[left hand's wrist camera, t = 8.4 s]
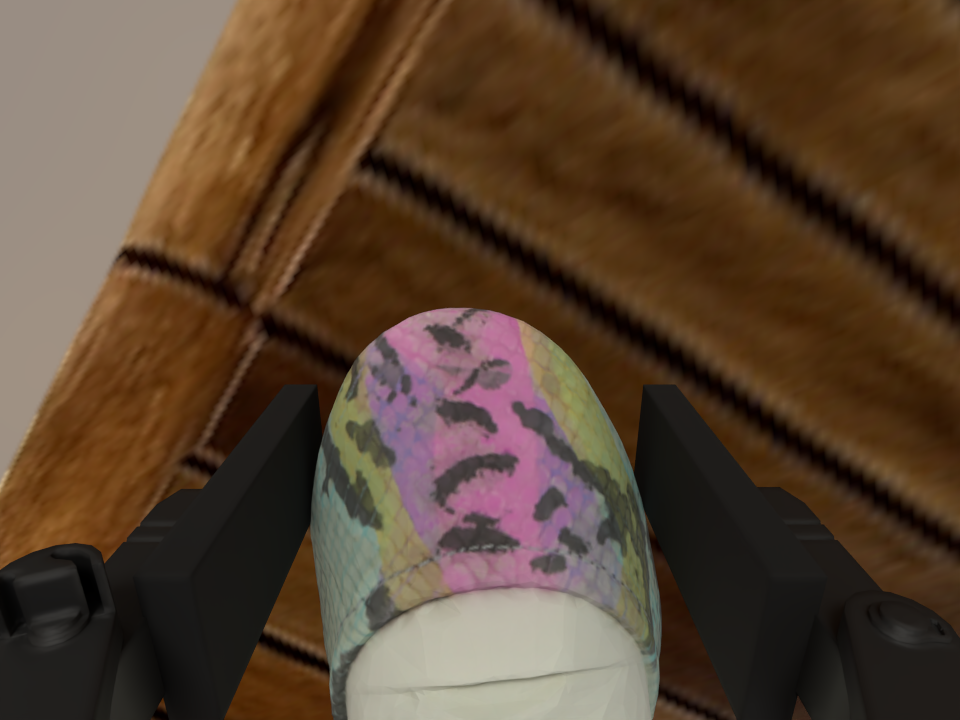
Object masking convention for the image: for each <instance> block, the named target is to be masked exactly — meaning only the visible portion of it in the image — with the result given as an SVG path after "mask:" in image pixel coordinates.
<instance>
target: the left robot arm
mask: <svg viewBox="0 0 960 720" xmlns="http://www.w3.org/2000/svg"><path fill="white" fill-rule="evenodd" d="M322 439H323V437H322V428H321V418H320V409H319V399H318V390H317V385H284V387H283V388H282V389H281V390H280V392H279V393H278V394H277V395H276V397H275V398H274V399H273V400H272V402H271V403H270V404H269V406H268V407H267V408H266V409H265V411H264V412H263V413H262V414H261V416H260V417H259V418H258V419H257V421H256V422H255V423H254V424H253V426H252V427H251V428H250V430H249V431H248V432H247V433H246V435H245V436H244V437H243V438H242V440H241V441H240V442H239V443H238V445H237V446H236V447H235V448H234V450H233V451H232V452H231V454H230V455H229V456H228V457H227V459H226V460H225V461H224V462H223V464H222V465H221V466H220V467H219V469H218V470H217V471H216V472H215V474H214V475H213V476H212V477H211V479H210V480H209V481H208V483H207V484H206V485H205V486H204V488H203V489H181V490H179V491H177V492H176V493H174V494H173V495H171V496H170V497H168V498H166V499H165V500H163V501H162V502H160V503H159V504H157V505H156V506H155V507H154V508H153V509H152V510H151V512H150V513H149V514H148V515H147V516H146V517H145V518H144V520H143V521H142V522H141V523H140V524H141V525H140V527H136V529H135V530H134V531H133V532H132V533H131V534H130V535H129V537H128V538H127V542H123V543H122V544H121V546H120V547H119V548H118V549H117V550H116V551H115V552H114V554H113V555H112V556H111V557H110V558H109V559H108V560H107V561H106V563H105V564H104V561H103V557H102V554H101V552H100V551H99V550H97V549H96V548H95V547H93V546H92V545H85V544H78V543H73V544H64V545H55V546H52V547H49V548H45V549H42V550H38V551H35V552H32V553H30V554H28V555H26V556H24V557H22V558H19V559H17V560H15V561H13V562H11V563H9V564H8V565H7V566H5V567H4V568H2V569H1V570H0V720H150V719H151V718H152V716H153V714H154V712H155V710H156V709H157V707H158V705H159V703H160V702H161V700H162V698H164V702H165V706H166V710H167V714H168V718H169V720H223V719H224V717H225V715H226V713H227V710H228V708H229V706H230V704H231V701H232V699H233V697H234V695H235V692H236V690H237V688H238V685H239V683H240V681H241V679H242V676H243V674H244V672H245V670H246V667H247V665H248V663H249V661H250V658H251V656H252V654H253V651H254V649H255V647H256V645H257V642H258V640H259V638H260V636H261V633H262V631H263V629H264V627H265V624H266V622H267V620H268V617H269V615H270V613H271V611H272V608H273V606H274V604H275V602H276V599H277V597H278V595H279V593H280V590H281V588H282V586H283V584H284V581H285V579H286V577H287V574H288V572H289V570H290V568H291V565H292V563H293V561H294V559H295V556H296V554H297V552H298V550H299V547H300V545H301V543H302V540H303V538H304V536H305V534H306V531H307V529H308V527H309V525H310V522H311V502H312V493H313V485H314V477H315V471H316V465H317V459H318V454H319V450H320V446H321V443H322ZM634 477H635V480H636V483H637V486H638V490H639V493H640V496H641V499H642V504H643V508H644V510H645V512H646V515H647V517H648V519H649V521H650V524H651V526H652V528H653V531H654V533H655V535H656V537H657V540H658V542H659V544H660V546H661V549H662V551H663V553H664V555H665V558H666V560H667V562H668V565H669V567H670V569H671V571H672V574H673V576H674V578H675V580H676V583H677V585H678V587H679V589H680V592H681V594H682V596H683V598H684V601H685V603H686V605H687V608H688V610H689V612H690V614H691V617H692V619H693V621H694V623H695V626H696V628H697V630H698V632H699V635H700V637H701V639H702V642H703V644H704V646H705V648H706V651H707V653H708V655H709V657H710V660H711V662H712V664H713V666H714V669H715V671H716V673H717V675H718V678H719V680H720V682H721V685H722V687H723V689H724V691H725V694H726V696H727V698H728V700H729V703H730V705H731V707H732V709H733V712H734V714H735V716H736V719H737V720H792V716H793V712H794V708H795V704H796V700H797V696H799V698H800V700H801V701H802V703H803V705H804V707H805V708H806V710H807V712H808V714H809V715H810V717H811V719H812V720H960V638H959V637H958V635H957V634H956V632H955V631H954V630H953V628H952V627H951V625H950V624H948V623H947V622H946V621H945V620H944V619H942V618H941V617H940V616H939V615H937V614H936V613H935V612H934V611H932V610H930V609H929V608H927V607H925V606H923V605H921V604H919V603H917V602H916V601H914V600H912V599H909V598H906V597H903V596H900V595H897V594H894V593H891V592H884V591H882V590H881V589H880V587H879V586H878V585H877V584H876V583H875V582H874V581H873V580H872V578H871V577H870V576H869V575H868V574H867V573H866V572H865V571H864V569H863V568H862V567H861V566H860V565H859V564H858V563H857V562H856V560H855V559H854V558H853V557H852V556H851V555H850V554H849V553H848V551H847V550H846V549H845V548H844V547H843V546H842V545H841V544H840V542H839V541H838V540H834V536H833V535H832V533H831V532H830V531H829V530H828V529H827V528H826V527H825V526H824V525H821V523H820V520H819V519H818V518H817V517H816V515H815V514H814V513H813V512H812V511H811V510H810V509H809V508H808V506H807V505H806V504H805V503H804V502H802V501H801V500H799V499H797V498H796V497H794V496H793V495H791V494H789V493H788V492H786V491H785V490H783V489H782V488H780V487H756V486H755V485H754V483H753V482H752V481H751V479H750V478H749V477H748V476H747V474H746V473H745V472H744V471H743V469H742V468H741V467H740V466H739V464H738V463H737V462H736V461H735V459H734V458H733V457H732V455H731V454H730V453H729V452H728V450H727V449H726V448H725V447H724V445H723V444H722V443H721V442H720V440H719V439H718V438H717V437H716V435H715V434H714V433H713V432H712V430H711V429H710V428H709V426H708V425H707V424H706V423H705V421H704V420H703V419H702V418H701V416H700V415H699V414H698V413H697V411H696V410H695V409H694V408H693V406H692V405H691V404H690V402H689V401H688V400H687V399H686V397H685V396H684V395H683V394H682V392H681V391H680V390H679V389H678V387H677V386H676V385H643V393H642V403H641V413H640V422H639V432H638V441H637V451H636V460H635V470H634Z"/></svg>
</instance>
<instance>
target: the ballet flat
mask: <svg viewBox="0 0 960 720" xmlns="http://www.w3.org/2000/svg"><path fill="white" fill-rule="evenodd" d="M310 530H311V539H312V545H313V552H314V560H315V569H316V577H317V584H318V590H319V596H320V603H321V616H322V622H323V634H324V644H325V649H326V654H327V660H328V663H329V669H330V684H329V685H330V696H331V704H332V715H333V717H334V720H652V719H653V715H654V711H655V706H656V701H657V696H658V688H659V654H660V645H661V631H662V627H661V604H660V597H659V589H658V583H657V577H656V571H655V566H654V560H653V555H652V550H651V545H650V539H649V533H648V527H647V522H646V518H645V513H644V509H643V504H642V499H641V496H640V493H639V490H638V486H637V483H636V480H635V477H634V473H633V470H632V467H631V464H630V462H629V459H628V457H627V454H626V451H625V449H624V447H623V444H622V442H621V440H620V438H619V436H618V434H617V432H616V430H615V428H614V426H613V424H612V422H611V421H610V419H609V417H608V415H607V413H606V411H605V410H604V408H603V406H602V405H601V403H600V401H599V399H598V398H597V396H596V394H595V393H594V391H593V389H592V388H591V386H590V384H589V383H588V381H587V379H586V378H585V377H584V375H583V374H582V372H581V371H580V370H579V369H578V367H577V366H576V365H575V363H574V362H573V361H572V360H571V358H570V357H569V356H568V355H567V354H566V353H565V352H564V351H563V350H562V349H561V348H560V347H559V346H558V345H556V344H555V343H554V342H553V341H552V340H550V339H549V338H548V337H547V336H545V335H544V334H543V333H541V332H540V331H538V330H537V329H535V328H533V327H532V326H530V325H528V324H527V323H525V322H523V321H521V320H518V319H515V318H512V317H509V316H507V315H504V314H501V313H497V312H493V311H489V310H481V309H473V308H446V309H437V310H433V311H428V312H424V313H420V314H418V315H415V316H412V317H409V318H408V319H406V320H404V321H403V322H401V323H399V324H397V325H396V326H394V327H392V328H390V329H389V330H387V331H385V332H384V333H382V334H381V335H380V336H379V337H378V338H377V339H376V340H374V341H373V342H372V343H371V344H369V345H368V346H367V347H366V349H365V350H364V351H363V352H362V353H361V354H360V355H359V356H358V357H357V359H356V360H355V362H354V363H353V365H352V367H351V369H350V371H349V372H348V374H347V376H346V378H345V380H344V382H343V384H342V386H341V388H340V390H339V393H338V396H337V398H336V401H335V403H334V406H333V409H332V411H331V414H330V417H329V419H328V422H327V424H326V428H325V431H324V435H323V439H322V443H321V446H320V450H319V454H318V459H317V465H316V471H315V477H314V485H313V493H312V502H311V527H310Z"/></svg>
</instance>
